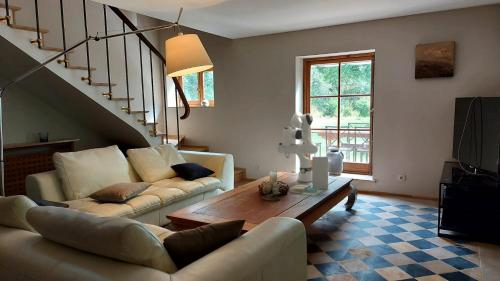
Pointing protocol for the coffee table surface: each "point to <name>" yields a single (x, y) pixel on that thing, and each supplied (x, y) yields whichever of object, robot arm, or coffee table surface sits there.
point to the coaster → (311, 190)
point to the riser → (299, 188)
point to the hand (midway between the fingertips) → (287, 157)
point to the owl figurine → (271, 191)
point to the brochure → (320, 172)
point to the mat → (313, 193)
